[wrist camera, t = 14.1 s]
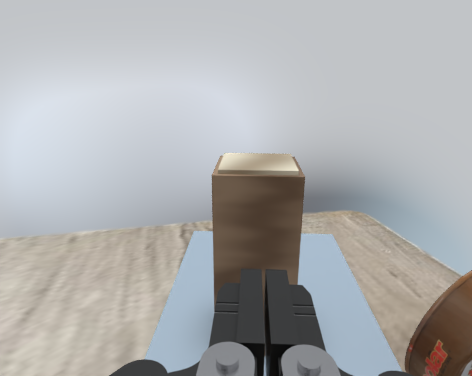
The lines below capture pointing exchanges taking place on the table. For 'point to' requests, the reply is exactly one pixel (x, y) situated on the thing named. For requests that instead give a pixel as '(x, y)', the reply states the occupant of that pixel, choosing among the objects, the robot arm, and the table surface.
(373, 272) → the table surface
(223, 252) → the walnut block
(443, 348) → the tin
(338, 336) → the mat
